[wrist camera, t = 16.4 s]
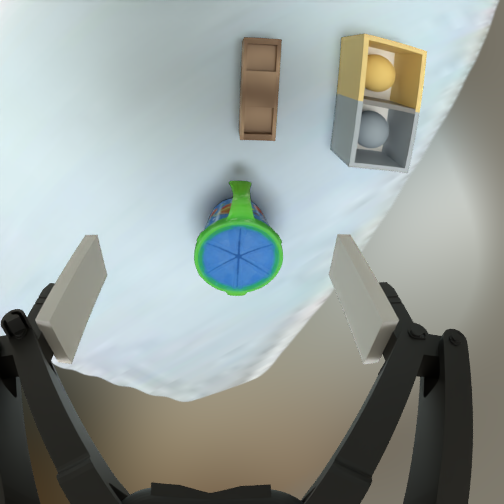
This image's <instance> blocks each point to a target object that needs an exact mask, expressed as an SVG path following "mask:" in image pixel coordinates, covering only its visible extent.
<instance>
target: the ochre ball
mask: <svg viewBox="0 0 504 504" xmlns="http://www.w3.org/2000/svg"><path fill="white" fill-rule="evenodd" d="M395 77H396V74H395V69H394V67H393V65H392V63H391V62H390V61H389V60H388V59H387V58H385V57H383V56H381V55H377V54H370V55H368V59H367V70H366V80H365V88H366V89H368V90H370V91H374V92H382V91H385V90H387V89H389V88H390V87H391V86H392V85H393V83H394V81H395Z"/></svg>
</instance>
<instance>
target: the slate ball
mask: <svg viewBox="0 0 504 504" xmlns="http://www.w3.org/2000/svg"><path fill="white" fill-rule="evenodd" d="M388 135H389V126H388V123H387V121H386V120H385V118H384V117H383V116H382V115H381V114H379V113H377V112H375V111H370V110H369V111H363V112H362V115H361V122H360V129H359V137H358V144H360V145H361V146H363V147H366V148H377V147H380V146H381V145H383V144H384V143H385V142H386V140H387V138H388Z"/></svg>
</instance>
